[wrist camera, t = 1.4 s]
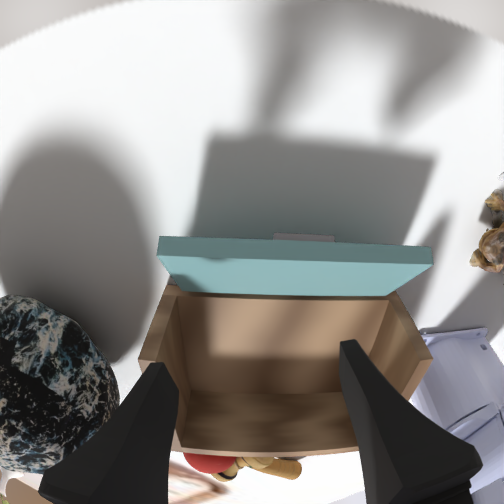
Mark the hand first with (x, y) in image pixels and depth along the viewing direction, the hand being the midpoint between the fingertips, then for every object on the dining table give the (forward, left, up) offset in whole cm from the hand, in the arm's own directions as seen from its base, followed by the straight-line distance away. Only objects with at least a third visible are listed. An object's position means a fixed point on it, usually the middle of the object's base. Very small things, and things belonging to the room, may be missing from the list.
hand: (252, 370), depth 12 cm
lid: (-2, +2, -8) cm, 9 cm away
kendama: (-1, +27, -10) cm, 28 cm away
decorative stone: (+18, +9, -10) cm, 22 cm away
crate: (-2, +8, -10) cm, 13 cm away
